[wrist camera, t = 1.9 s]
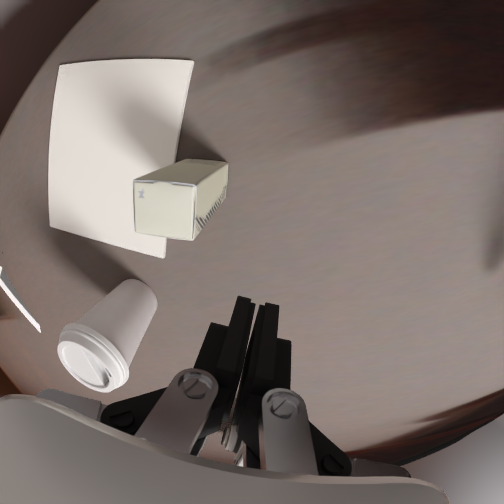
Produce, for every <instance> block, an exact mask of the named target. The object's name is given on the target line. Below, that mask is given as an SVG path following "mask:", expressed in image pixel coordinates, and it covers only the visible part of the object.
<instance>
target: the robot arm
mask: <svg viewBox="0 0 504 504" xmlns="http://www.w3.org/2000/svg"><path fill="white" fill-rule="evenodd" d="M254 310H255V303H251V299H250V298H246V297H241V296H238V297H237V301H236V304H235V307H234V311H233V314H232V317H231V321H230V324H229V327H228V326H224V325H220V324H216V323H213V322H211V324H210V326H209V329H208V331H207V334H206V337H205V339H204V342H203V344H202V347H201V349H200V352H199V355H198V357H197V360H196V362H195V365H194V368H190V369H185V370H183V371H181V372H179V373H178V374H177V375H176V376H175V377H174V378H173V380H172V381H171V383H170V384H169V386H168V387H166V388H163V389H160V390H156V391H153V392H150V393H146V394H143V395H140V396H136V397H133V398H129V399H126V400H122V401H118V402H115V403H112V404H110V405H105V404H102V403H101V401H98V400H94V399H89V398H85V397H81V396H77V395H74V394H70V393H66V392H63V391H59V390H56V389H45V390H42V391H41V392H39V393H38V394H37V396H36V397H35V396H30V395H21V394H11V395H6V396H4V397H2V398H0V504H450V502H449V499H448V497H447V496H446V494H445V492H444V491H443V490H442V489H441V488H440V487H438V486H436V485H434V484H432V483H430V482H426V481H423V480H419V479H415V478H411V476H410V474H409V472H408V471H407V470H406V469H405V468H402V467H400V466H395V465H389V464H383V463H378V462H373V461H368V460H364V459H359V458H356V459H355V460H352V459H349V457H348V456H347V455H346V454H345V453H344V452H343V451H342V450H340V449H339V448H338V447H337V446H336V445H335V444H334V443H333V442H331V441H330V440H329V439H328V438H327V437H326V436H325V435H324V434H323V433H321V432H320V431H319V430H318V429H317V428H316V427H315V426H314V425H313V424H312V423H311V422H309V421H308V415H307V410H306V405H305V403H304V400H303V399H302V398H301V397H300V395H298V394H297V393H295V392H294V391H291V390H290V381H291V341H289V340H285V339H280V338H277V331H278V317H279V305H275V304H271V303H267V302H266V303H265V306H264V305H260V306H259V309H258V313H257V316H256V320H255V324H254V327H253V331H252V334H251V338H250V341H249V345H248V340H249V335H250V330H251V325H252V320H253V315H254ZM247 345H248V349H247ZM246 350H247V352H246ZM245 355H246V356H245ZM244 360H245V361H244ZM241 374H242V375H241ZM240 378H241V380H240ZM239 381H240V385H239V390H238V395H237V400H236V405H235V409H234V414H233V419H232V423H233V424H237V427H236V432H237V435H238V436H239V437H240V438H241V439H242V441H243V442H244V443H243V467H242V466H237V465H232V464H227V463H222V462H218V461H213V460H209V459H205V458H201V457H199V455H200V453H201V451H202V448H203V446H204V444H205V442H206V440H207V438H208V435H210V434H212V433H214V432H217V431H219V430H220V426H221V422H222V421H224V422H227V421H228V418H229V415H230V411H231V408H232V405H233V401H234V398H235V395H236V391H237V388H238V384H239Z"/></svg>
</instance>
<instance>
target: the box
mask: <svg viewBox="0 0 504 504" xmlns="http://www.w3.org/2000/svg"><path fill="white" fill-rule="evenodd" d="M227 180H228V163H227V162H222V161H213V160H201V159H184V160H182V161H179V162H177V163H174V164H171V165H169V166H166V167H163V168H161V169H158V170H156V171H153V172H151V173H148V174H146V175H143V176H141V177H138V178H136V179H134V180H133V213H134V227H135V232H136V233H138V234H144V235H150V236H157V237H164V238H172V239H181V240H194V239H195V237H196V236H197V235H198V234H199V232H200V231H201V230H202V228H203V227H204V225H205V224H206V223H207V222H208V220H209V219H210V218H211V216H212V215H213V214H214V212H215V211H216V210H217V209H218V207H219V206H220V205H221V203H222V202H223V201H224V200H225V198H226V190H227Z"/></svg>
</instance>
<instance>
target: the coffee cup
mask: <svg viewBox="0 0 504 504" xmlns="http://www.w3.org/2000/svg"><path fill="white" fill-rule="evenodd" d="M156 309H157V299H156V296H155V294H154V292H153V291H152V290H151V288H150V287H149V286H147V285H146V284H145V283H143V282H142V281H139V280H136V279H127V280H125V281H123V282H122V283H121V284H119V285H118V286H117V287H116V288H115V289H113V290H112V291H111V292H110V293H109V294H107V295H106V296H105V297H104V298H103V299H102V300H100V301H99V302H98V303H97V304H96V305H95V306H93V307H92V308H91V309H90V310H89V311H88V312H86V313H85V314H84V315H83V316H82V317H81V318H80V319H78V320H77V321H76V322H75V323H71V324H67V325H66V326H64V328H63V329H62V331H61V334H60V337H59V345H58V355H59V358H60V360H61V362H62V364H63V365H64V367H65V368H66V369H67V370H68V372H69V373H70V374H71V375H72V376H73V377H74V378H76V379H77V380H78V381H79V382H81V383H82V384H84V385H85V386H87V387H89V388H91V389H93V390H96V391H99V392H110V391H112V390H113V389H115V388H118V387H120V386H122V385H123V384H124V383H125V382H126V381H127V380H128V377H129V370H128V368H129V366H130V364H131V361H132V359H133V357H134V355H135V353H136V350H137V348H138V346H139V344H140V342H141V340H142V338H143V336H144V334H145V332H146V329H147V327H148V325H149V323H150V321H151V319H152V317H153V315H154V313H155V311H156Z"/></svg>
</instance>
